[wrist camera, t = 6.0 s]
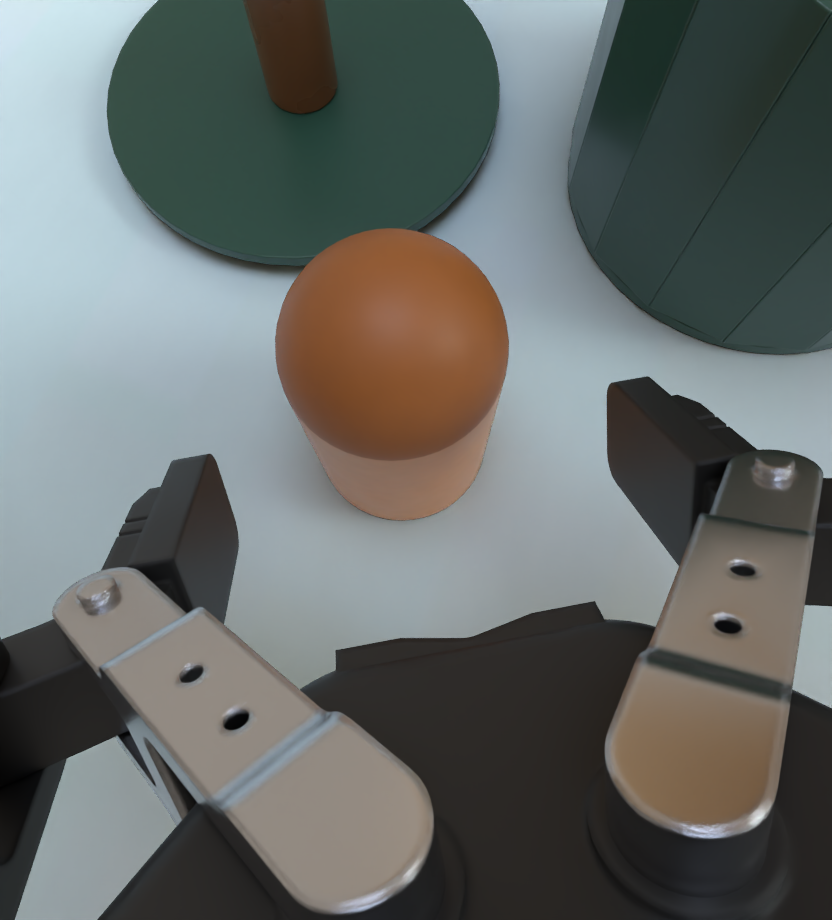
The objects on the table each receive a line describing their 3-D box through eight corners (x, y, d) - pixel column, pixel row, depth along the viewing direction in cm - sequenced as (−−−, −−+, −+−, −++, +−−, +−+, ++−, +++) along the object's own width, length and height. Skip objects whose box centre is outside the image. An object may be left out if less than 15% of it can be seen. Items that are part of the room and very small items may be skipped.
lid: (151, 319, 24) (62, 208, 18) (94, 11, 28) (7, -161, 22) (548, 219, 25) (585, 83, 19) (437, -65, 29) (439, -249, 23)
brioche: (342, 540, 22) (281, 451, 13) (304, 387, 23) (225, 209, 14) (505, 495, 22) (561, 377, 13) (457, 348, 23) (477, 148, 14)
